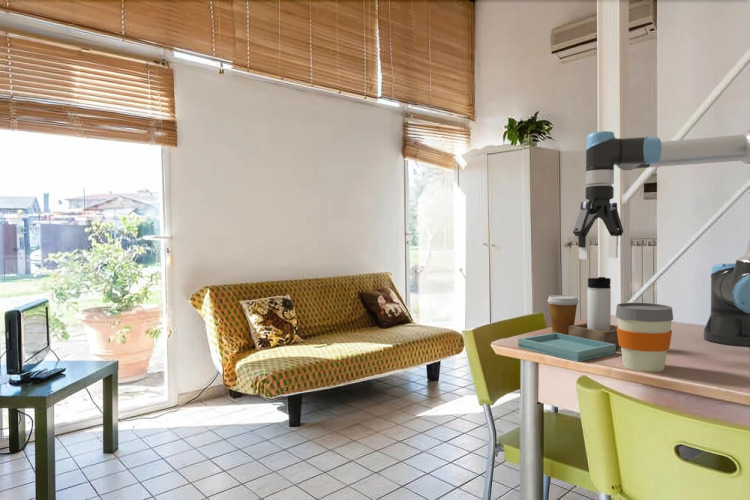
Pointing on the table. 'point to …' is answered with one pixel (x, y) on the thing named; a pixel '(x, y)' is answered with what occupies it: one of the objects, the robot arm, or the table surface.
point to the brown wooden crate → (595, 333)
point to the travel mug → (599, 304)
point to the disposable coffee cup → (562, 312)
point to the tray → (567, 346)
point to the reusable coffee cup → (644, 335)
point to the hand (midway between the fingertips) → (598, 258)
